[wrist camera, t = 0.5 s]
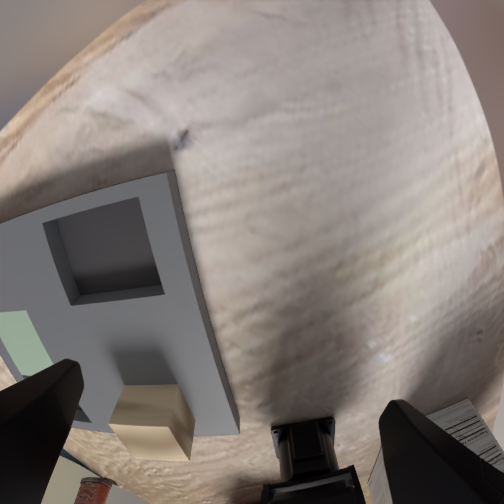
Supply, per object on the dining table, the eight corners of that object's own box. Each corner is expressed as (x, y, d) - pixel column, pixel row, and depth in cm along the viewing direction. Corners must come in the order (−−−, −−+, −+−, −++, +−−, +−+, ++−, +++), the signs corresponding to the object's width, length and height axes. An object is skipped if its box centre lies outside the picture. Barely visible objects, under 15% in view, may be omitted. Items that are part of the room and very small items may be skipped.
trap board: (239, 418, 26) (239, 434, 24) (52, 411, 27) (46, 422, 25) (174, 170, 18) (166, 172, 16) (-34, 237, 19) (-47, 244, 17)
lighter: (92, 486, 35) (79, 527, 26) (77, 477, 34) (63, 518, 25) (116, 486, 34) (104, 532, 24) (101, 476, 33) (86, 523, 23)
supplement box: (437, 458, 33) (470, 536, 16) (365, 483, 34) (388, 573, 17) (471, 394, 27) (531, 491, 10) (383, 427, 28) (429, 554, 11)
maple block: (195, 421, 23) (189, 461, 19) (145, 421, 24) (134, 458, 19) (178, 384, 22) (168, 426, 17) (124, 385, 22) (107, 423, 18)
